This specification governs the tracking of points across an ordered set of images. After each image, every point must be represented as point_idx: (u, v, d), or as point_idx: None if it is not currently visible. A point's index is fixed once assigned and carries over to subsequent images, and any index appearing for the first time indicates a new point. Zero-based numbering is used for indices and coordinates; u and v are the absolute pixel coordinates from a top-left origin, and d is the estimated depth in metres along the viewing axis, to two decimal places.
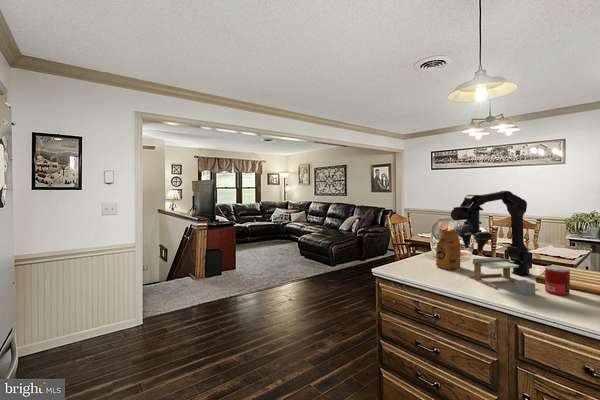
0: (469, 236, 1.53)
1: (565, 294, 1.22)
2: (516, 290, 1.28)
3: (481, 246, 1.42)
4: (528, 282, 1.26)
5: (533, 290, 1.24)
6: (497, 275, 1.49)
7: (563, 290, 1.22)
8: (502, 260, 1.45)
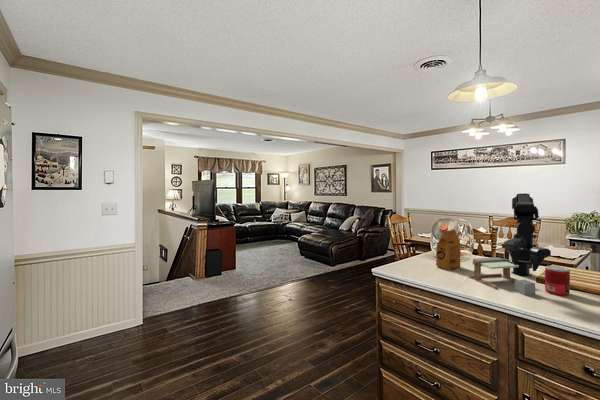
0: (518, 251, 1.31)
1: (565, 294, 1.22)
2: (516, 290, 1.28)
3: (537, 264, 1.20)
4: (528, 282, 1.26)
5: (533, 290, 1.24)
6: (497, 275, 1.49)
7: (563, 290, 1.22)
8: (502, 260, 1.45)
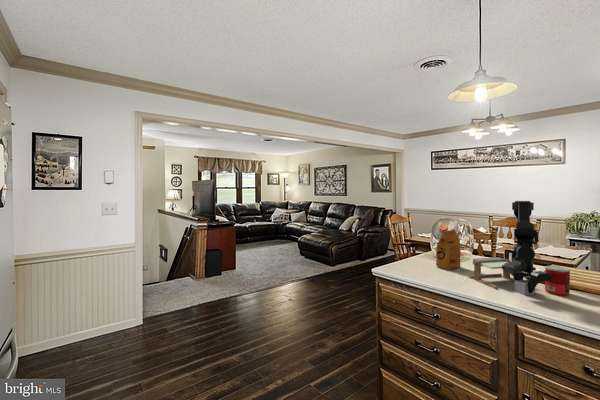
0: (522, 274, 1.30)
1: (565, 294, 1.22)
2: (516, 290, 1.28)
3: (533, 286, 1.23)
4: None
5: (533, 290, 1.24)
6: (497, 275, 1.49)
7: (563, 290, 1.22)
8: (502, 260, 1.45)
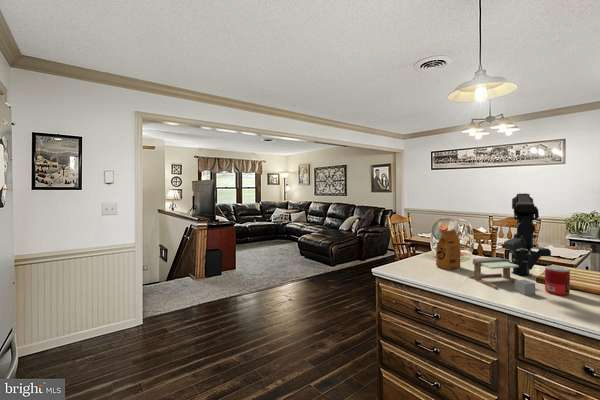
0: (522, 252, 1.29)
1: (565, 294, 1.22)
2: (516, 290, 1.28)
3: (532, 263, 1.22)
4: (528, 282, 1.26)
5: (533, 290, 1.24)
6: (497, 275, 1.49)
7: (563, 290, 1.22)
8: (502, 260, 1.45)
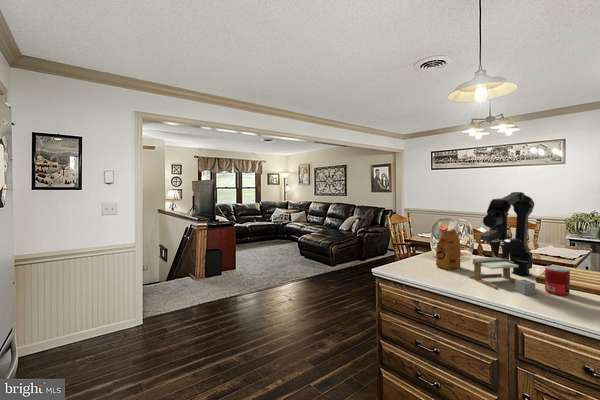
0: (498, 243, 1.42)
1: (565, 294, 1.22)
2: (516, 290, 1.28)
3: (506, 253, 1.36)
4: (529, 282, 1.26)
5: (533, 290, 1.24)
6: (497, 275, 1.49)
7: (563, 290, 1.22)
8: (502, 260, 1.45)
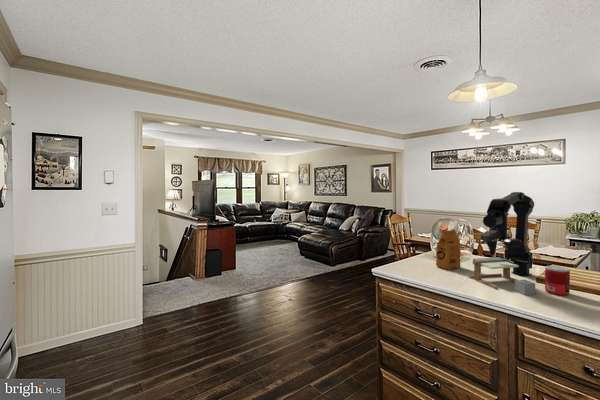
0: (495, 243, 1.44)
1: (565, 294, 1.22)
2: (516, 290, 1.28)
3: (510, 254, 1.34)
4: (529, 282, 1.26)
5: (533, 290, 1.24)
6: (497, 275, 1.49)
7: (563, 290, 1.22)
8: (502, 260, 1.45)
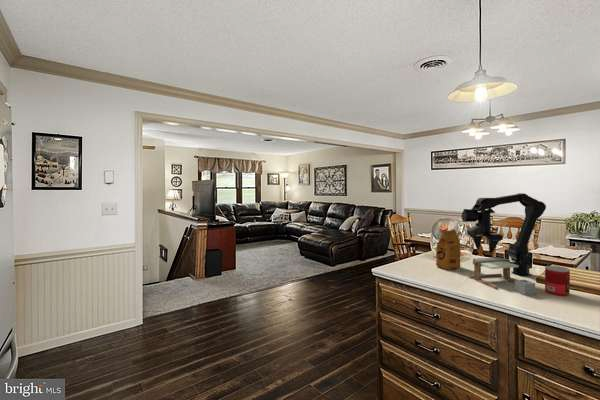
0: (480, 237, 1.59)
1: (565, 294, 1.22)
2: (516, 290, 1.28)
3: (492, 247, 1.48)
4: (529, 282, 1.26)
5: (533, 290, 1.24)
6: (497, 275, 1.49)
7: (563, 290, 1.22)
8: (502, 260, 1.45)
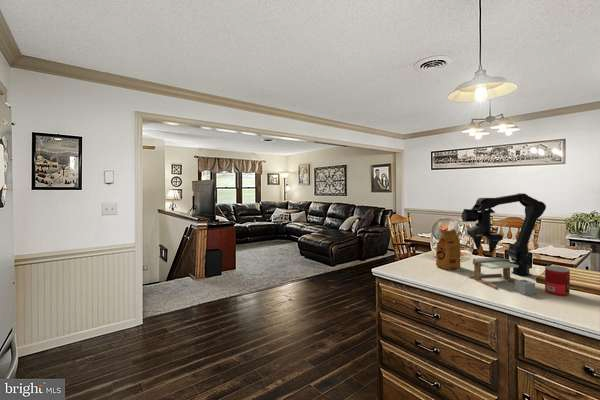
0: (480, 237, 1.59)
1: (565, 294, 1.22)
2: (516, 290, 1.28)
3: (492, 247, 1.48)
4: (528, 282, 1.26)
5: (533, 290, 1.24)
6: (497, 275, 1.49)
7: (563, 290, 1.22)
8: (502, 260, 1.45)
